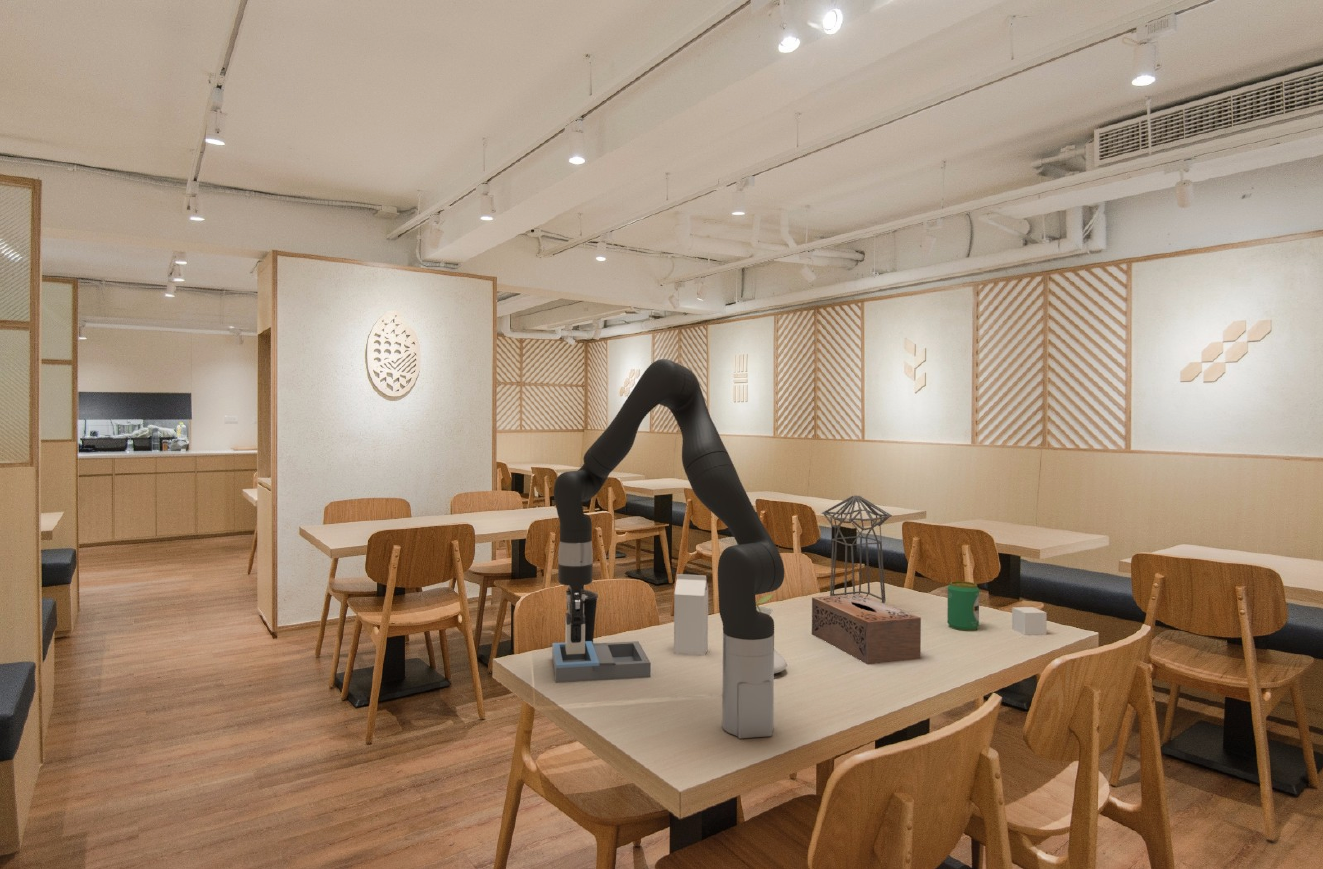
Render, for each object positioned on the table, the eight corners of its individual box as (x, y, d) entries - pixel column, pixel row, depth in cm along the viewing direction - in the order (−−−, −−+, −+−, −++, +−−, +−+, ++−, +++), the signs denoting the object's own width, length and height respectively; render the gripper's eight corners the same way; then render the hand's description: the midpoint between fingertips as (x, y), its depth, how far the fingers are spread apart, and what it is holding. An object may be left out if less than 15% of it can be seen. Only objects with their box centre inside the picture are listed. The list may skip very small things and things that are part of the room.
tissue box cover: (920, 660, 173) (920, 617, 173) (867, 665, 169) (867, 622, 169) (859, 630, 198) (859, 594, 198) (811, 635, 193) (812, 597, 193)
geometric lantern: (895, 619, 209) (895, 497, 208) (846, 624, 205) (845, 499, 204) (866, 605, 224) (865, 491, 223) (819, 609, 220) (818, 493, 219)
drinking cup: (559, 653, 176) (560, 570, 176) (577, 644, 182) (578, 564, 182) (586, 658, 172) (586, 573, 172) (603, 649, 179) (604, 567, 179)
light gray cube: (1032, 628, 200) (1033, 606, 200) (1046, 635, 194) (1046, 612, 194) (1011, 629, 200) (1012, 607, 199) (1024, 635, 194) (1025, 612, 194)
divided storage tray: (650, 681, 157) (650, 659, 156) (556, 687, 153) (556, 665, 153) (638, 658, 172) (638, 638, 172) (552, 662, 168) (552, 642, 168)
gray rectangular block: (584, 653, 160) (585, 617, 160) (566, 654, 159) (566, 617, 159) (583, 647, 164) (583, 612, 164) (565, 648, 163) (565, 613, 163)
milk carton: (703, 659, 172) (704, 578, 171) (673, 657, 173) (674, 577, 173) (707, 650, 179) (708, 572, 178) (679, 648, 180) (679, 571, 180)
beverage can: (976, 633, 195) (976, 588, 195) (944, 628, 200) (945, 584, 199) (980, 626, 202) (981, 582, 202) (950, 622, 206) (950, 579, 206)
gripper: (595, 567, 155) (595, 647, 155) (589, 555, 169) (589, 629, 169) (560, 568, 154) (559, 649, 154) (556, 556, 167) (556, 631, 168)
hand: (575, 638), depth 161 cm, fingers closed on gray rectangular block, 4 cm apart
